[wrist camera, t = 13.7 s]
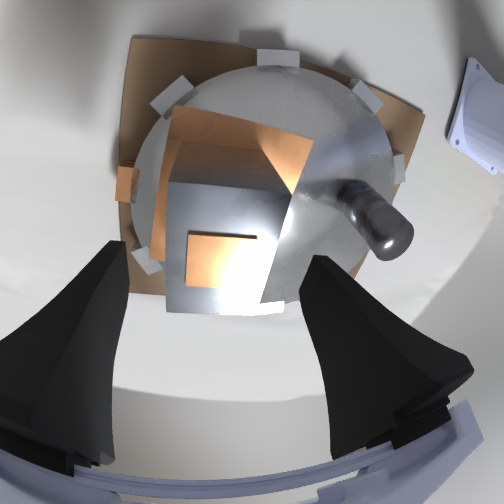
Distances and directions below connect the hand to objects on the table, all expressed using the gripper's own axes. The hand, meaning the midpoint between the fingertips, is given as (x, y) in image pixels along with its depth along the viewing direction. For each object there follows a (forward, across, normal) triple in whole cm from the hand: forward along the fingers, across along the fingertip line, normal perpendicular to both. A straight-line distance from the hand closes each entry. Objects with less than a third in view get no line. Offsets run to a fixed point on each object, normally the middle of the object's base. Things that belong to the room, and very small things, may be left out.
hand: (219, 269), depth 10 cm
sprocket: (+7, -3, 0) cm, 8 cm away
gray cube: (+5, 0, 0) cm, 5 cm away
